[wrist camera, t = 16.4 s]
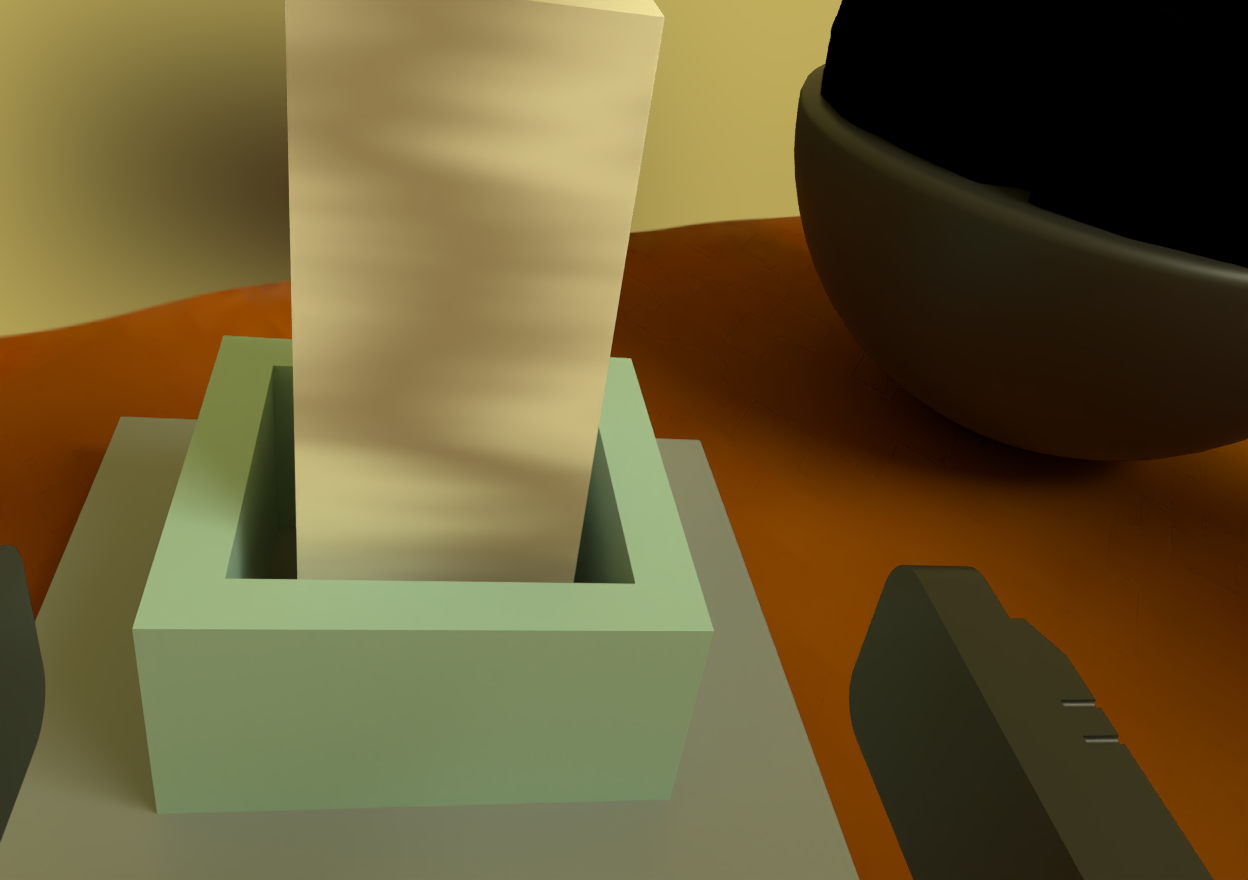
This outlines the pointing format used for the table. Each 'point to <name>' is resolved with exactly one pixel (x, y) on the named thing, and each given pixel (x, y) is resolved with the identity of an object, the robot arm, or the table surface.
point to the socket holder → (405, 682)
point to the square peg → (457, 275)
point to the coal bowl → (1040, 214)
